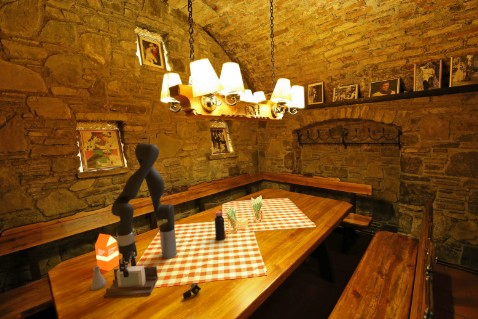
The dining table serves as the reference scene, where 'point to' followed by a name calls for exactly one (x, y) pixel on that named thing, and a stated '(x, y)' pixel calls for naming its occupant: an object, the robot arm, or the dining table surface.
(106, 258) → the orange juice
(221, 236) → the bottle
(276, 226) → the dining table surface
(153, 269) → the picture ledge
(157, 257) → the dining table surface
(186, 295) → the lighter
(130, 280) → the white rectangular block
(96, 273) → the flask
